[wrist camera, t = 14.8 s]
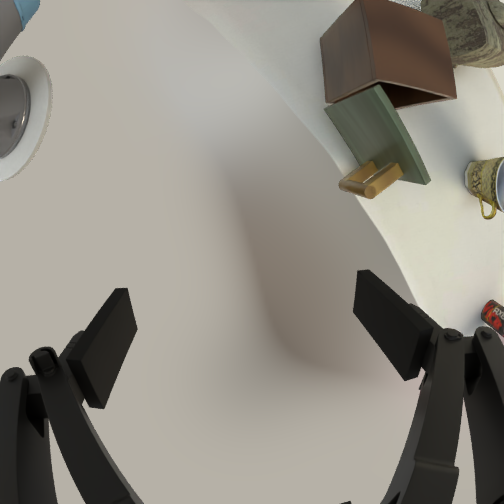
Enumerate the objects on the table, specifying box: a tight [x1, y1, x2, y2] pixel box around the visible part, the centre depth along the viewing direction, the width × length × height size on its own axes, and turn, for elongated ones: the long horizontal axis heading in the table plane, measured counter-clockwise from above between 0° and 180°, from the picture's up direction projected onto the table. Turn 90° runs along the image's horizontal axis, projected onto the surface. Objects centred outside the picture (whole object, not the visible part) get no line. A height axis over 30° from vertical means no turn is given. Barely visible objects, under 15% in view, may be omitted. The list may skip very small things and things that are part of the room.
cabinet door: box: [324, 85, 431, 199], centre depth 32 cm, size 7×12×15 cm, turn 36°
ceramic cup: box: [465, 157, 504, 219], centre depth 38 cm, size 13×10×10 cm
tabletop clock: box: [420, 0, 504, 68], centre depth 21 cm, size 14×9×25 cm, turn 14°
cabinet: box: [320, 0, 457, 110], centre depth 28 cm, size 11×12×16 cm
